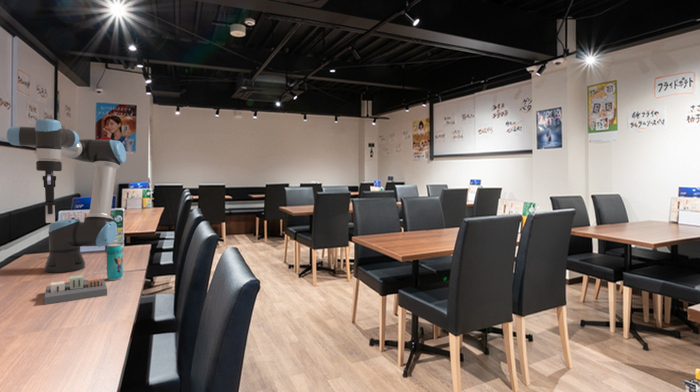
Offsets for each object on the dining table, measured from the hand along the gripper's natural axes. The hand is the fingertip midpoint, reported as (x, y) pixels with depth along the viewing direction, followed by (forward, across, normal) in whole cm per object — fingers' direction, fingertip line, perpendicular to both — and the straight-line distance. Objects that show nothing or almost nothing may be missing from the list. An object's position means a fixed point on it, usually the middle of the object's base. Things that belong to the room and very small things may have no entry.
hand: (50, 222), depth 141 cm
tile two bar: (+24, +11, +7) cm, 27 cm away
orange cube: (+25, +11, +13) cm, 30 cm away
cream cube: (+25, +11, +2) cm, 27 cm away
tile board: (+26, +10, +8) cm, 29 cm away
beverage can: (+27, -5, +21) cm, 34 cm away
